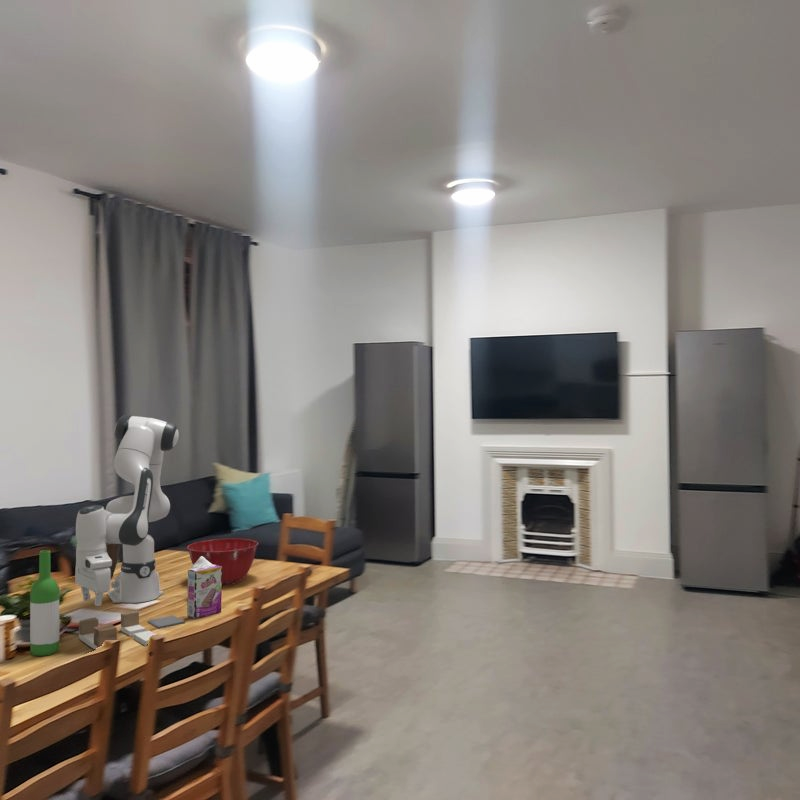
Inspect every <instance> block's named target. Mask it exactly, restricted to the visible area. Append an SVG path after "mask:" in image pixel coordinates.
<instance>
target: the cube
mask: <svg viewBox="0 0 800 800" xmlns="http://www.w3.org/2000/svg"><path fill="white" fill-rule="evenodd" d="M117 639H118V629H117V627H116V626H115V625H113V624H112V623H108V624H104V625H98V627H94V645H96V646H97V647H100V646H102V644H103V642H104V641H105V640H117ZM117 641H118V640H117Z"/></svg>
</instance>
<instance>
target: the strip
mask: <svg viewBox="0 0 800 800" xmlns="http://www.w3.org/2000/svg"><path fill="white" fill-rule="evenodd" d="M98 626H99V619H98V618H97V617H92V618H86V619H81V620H78V639H79V640H81V641H82V642H84V643H85V644H86V645H88V646H89V647H90V648H92V649H93V650H94V649H96V648H98V647H97V646H96V645H94V627H98Z"/></svg>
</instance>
